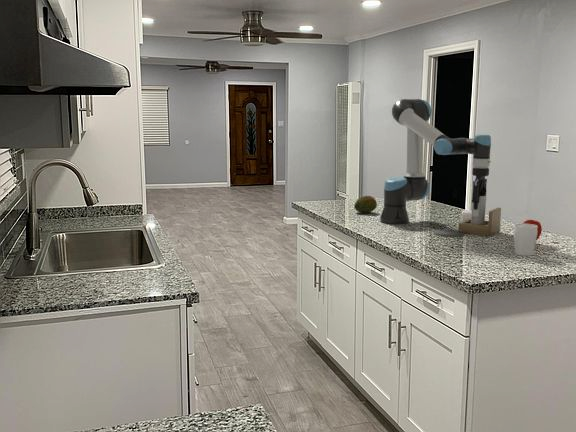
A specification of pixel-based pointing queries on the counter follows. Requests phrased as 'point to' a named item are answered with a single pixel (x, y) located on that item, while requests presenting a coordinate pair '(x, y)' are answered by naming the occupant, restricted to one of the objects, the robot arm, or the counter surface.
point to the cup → (525, 239)
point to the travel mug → (480, 210)
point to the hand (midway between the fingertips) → (478, 215)
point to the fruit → (365, 204)
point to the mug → (465, 215)
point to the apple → (539, 228)
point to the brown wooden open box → (487, 229)
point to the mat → (449, 233)
